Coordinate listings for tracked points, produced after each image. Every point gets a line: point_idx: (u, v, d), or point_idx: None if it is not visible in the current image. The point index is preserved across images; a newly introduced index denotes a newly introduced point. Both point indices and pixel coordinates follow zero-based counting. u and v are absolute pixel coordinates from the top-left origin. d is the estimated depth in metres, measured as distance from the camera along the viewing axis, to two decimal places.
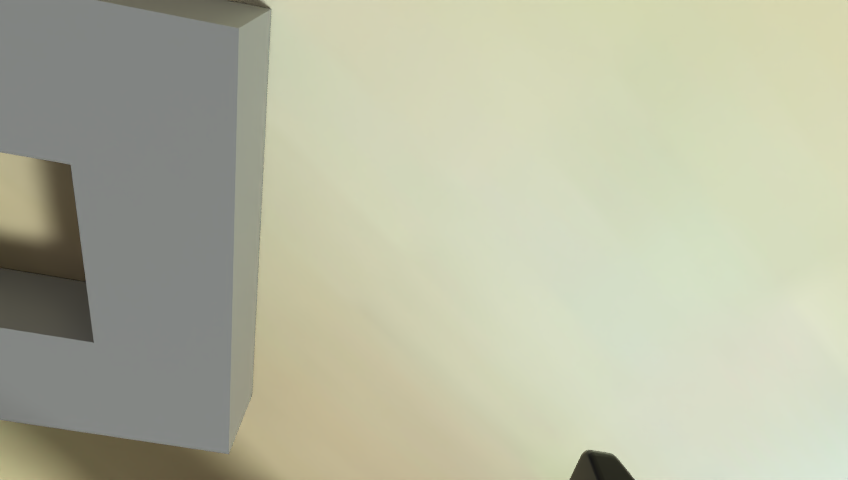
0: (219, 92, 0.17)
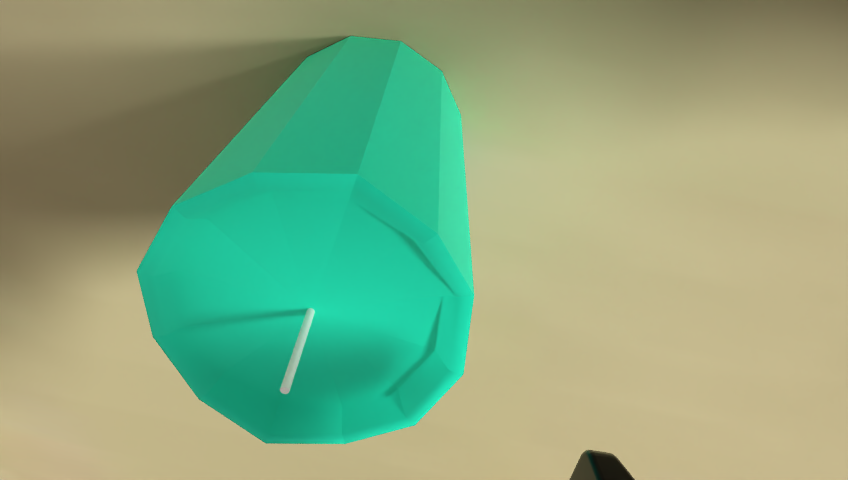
0: None
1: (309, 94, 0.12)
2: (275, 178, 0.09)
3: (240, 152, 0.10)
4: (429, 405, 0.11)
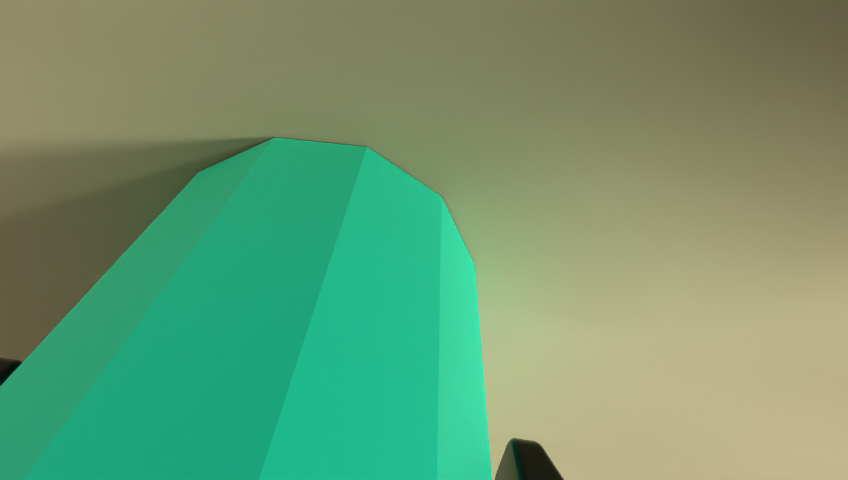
0: None
1: (57, 437, 0.04)
2: None
3: None
4: None
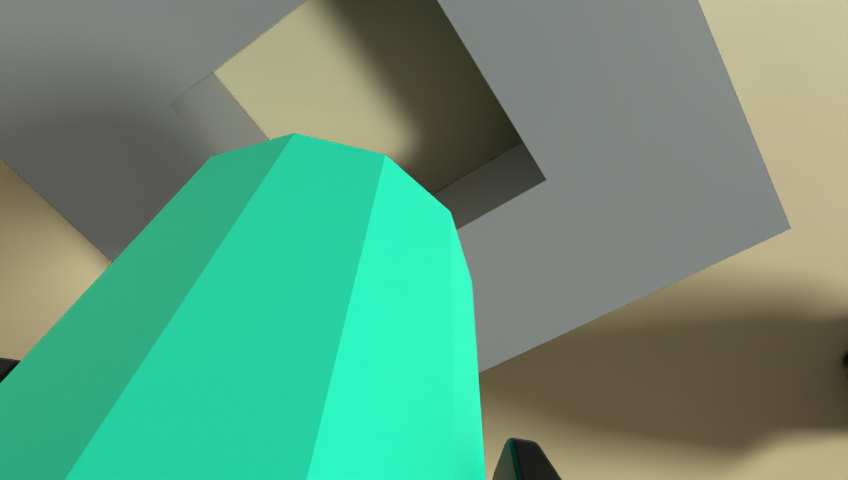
0: None
1: None
2: None
3: None
4: None
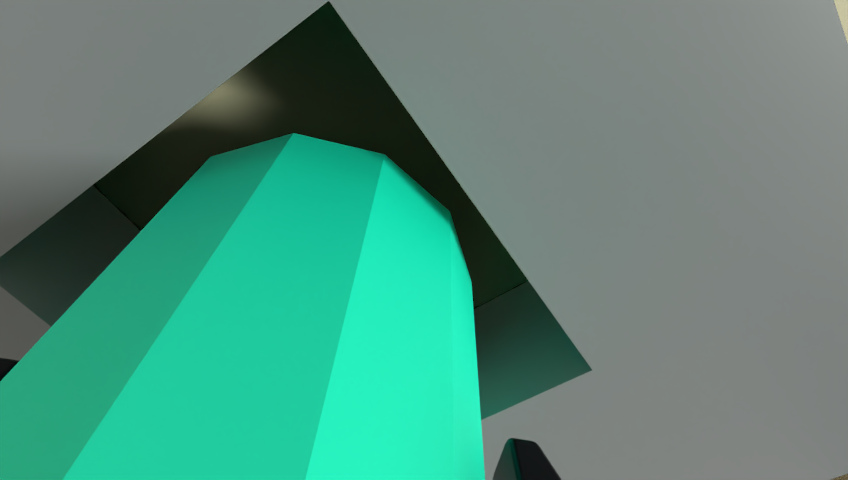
0: None
1: None
2: None
3: None
4: None
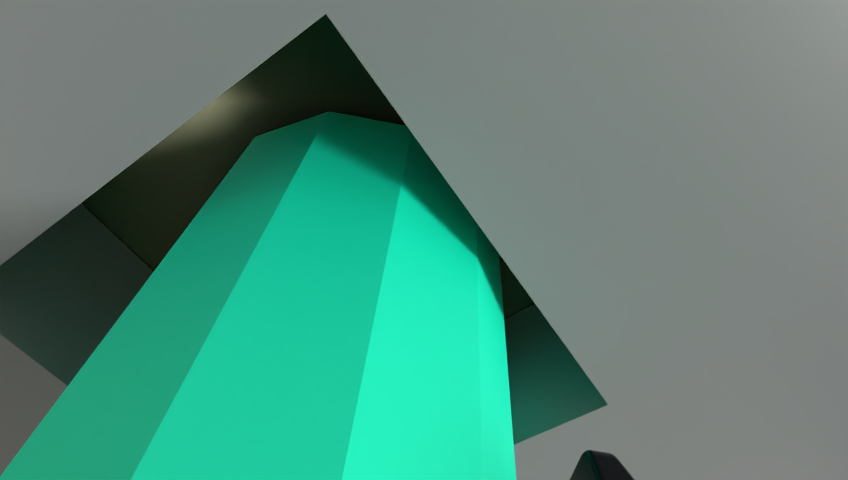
0: None
1: (360, 395, 0.05)
2: None
3: None
4: None
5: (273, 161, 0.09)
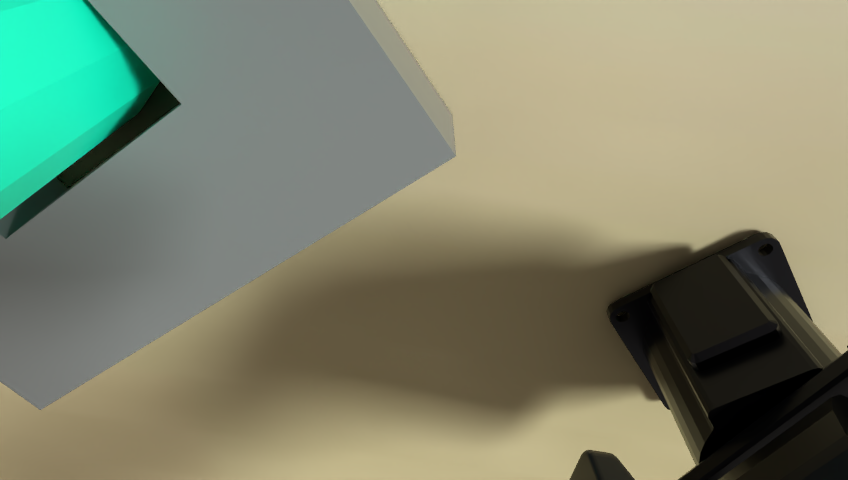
0: None
1: None
2: None
3: None
4: None
5: None
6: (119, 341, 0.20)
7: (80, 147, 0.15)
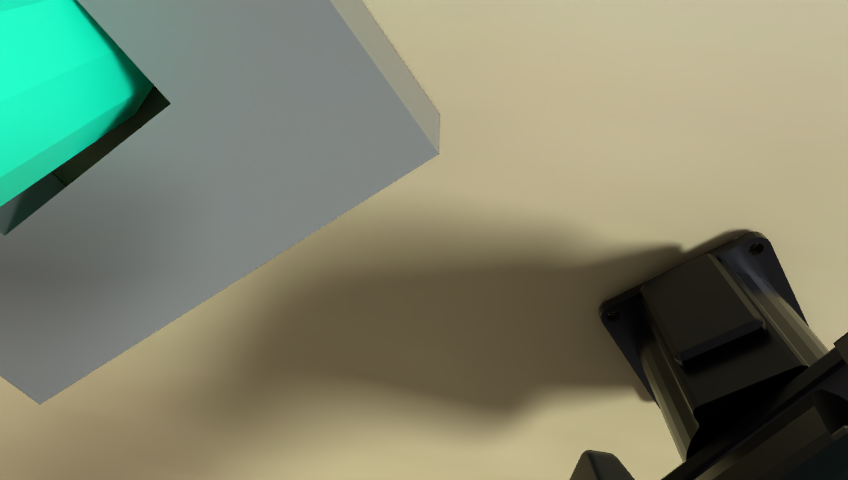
0: None
1: None
2: None
3: None
4: None
5: None
6: (114, 336, 0.20)
7: (71, 146, 0.16)
